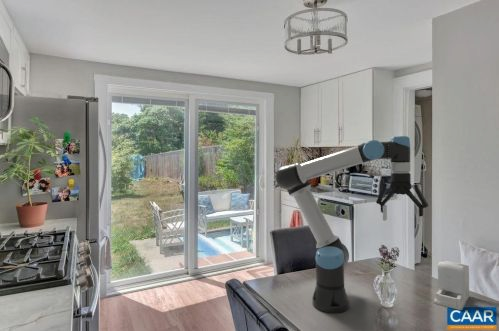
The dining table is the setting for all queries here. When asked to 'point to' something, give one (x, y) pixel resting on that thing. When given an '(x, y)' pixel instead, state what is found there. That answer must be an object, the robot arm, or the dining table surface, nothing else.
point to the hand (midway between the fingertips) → (401, 222)
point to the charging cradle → (453, 298)
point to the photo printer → (451, 277)
